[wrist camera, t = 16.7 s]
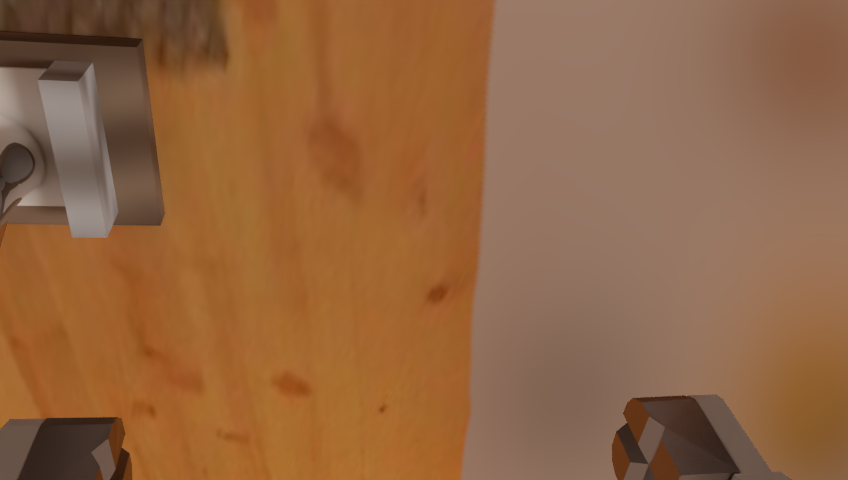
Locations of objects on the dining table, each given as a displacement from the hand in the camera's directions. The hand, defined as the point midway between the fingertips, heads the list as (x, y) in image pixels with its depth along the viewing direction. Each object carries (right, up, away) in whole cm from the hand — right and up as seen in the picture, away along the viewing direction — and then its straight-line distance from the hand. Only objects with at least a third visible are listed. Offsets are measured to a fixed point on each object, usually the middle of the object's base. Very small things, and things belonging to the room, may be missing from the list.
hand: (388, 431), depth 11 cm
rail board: (-26, +10, +31) cm, 41 cm away
